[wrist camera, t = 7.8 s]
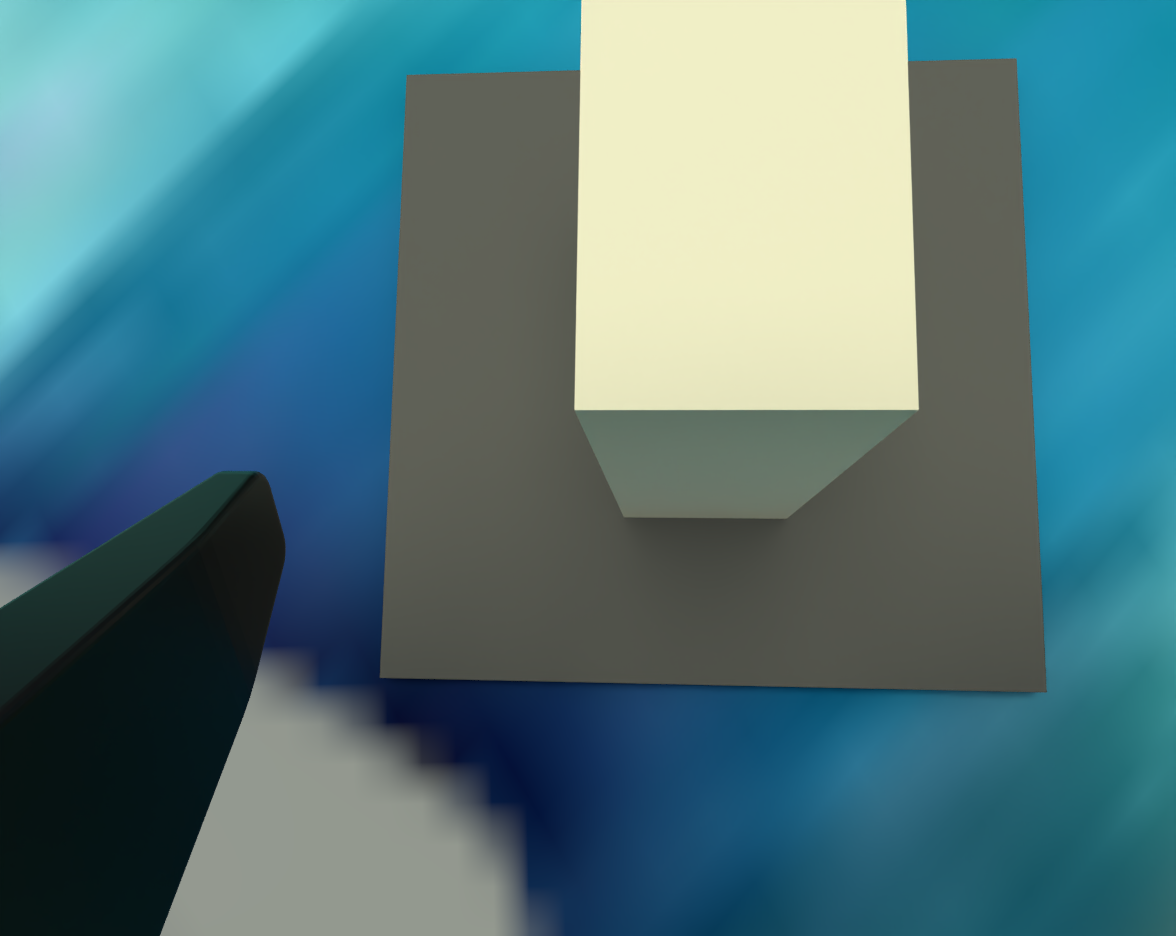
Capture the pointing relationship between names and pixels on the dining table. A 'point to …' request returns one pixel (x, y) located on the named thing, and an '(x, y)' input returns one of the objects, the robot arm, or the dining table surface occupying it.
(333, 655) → the dining table surface
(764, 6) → the cream pillar
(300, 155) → the dining table surface
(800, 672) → the mat
